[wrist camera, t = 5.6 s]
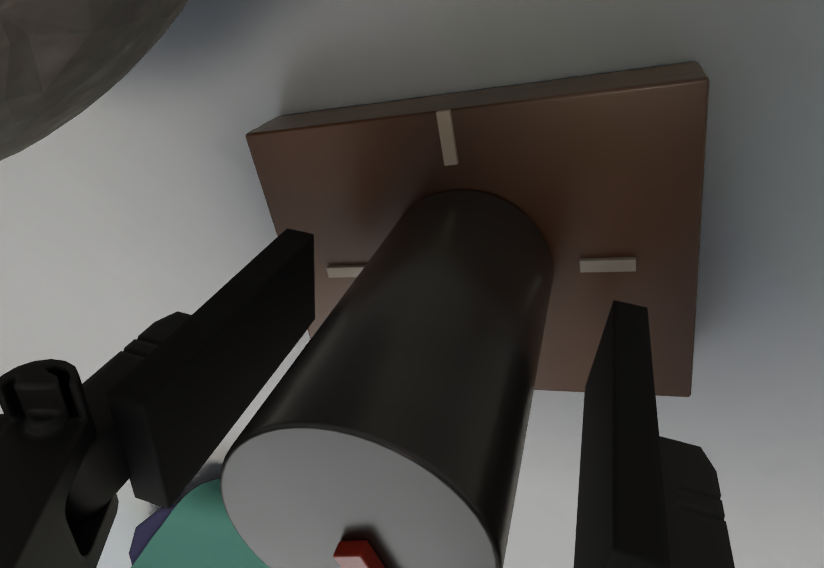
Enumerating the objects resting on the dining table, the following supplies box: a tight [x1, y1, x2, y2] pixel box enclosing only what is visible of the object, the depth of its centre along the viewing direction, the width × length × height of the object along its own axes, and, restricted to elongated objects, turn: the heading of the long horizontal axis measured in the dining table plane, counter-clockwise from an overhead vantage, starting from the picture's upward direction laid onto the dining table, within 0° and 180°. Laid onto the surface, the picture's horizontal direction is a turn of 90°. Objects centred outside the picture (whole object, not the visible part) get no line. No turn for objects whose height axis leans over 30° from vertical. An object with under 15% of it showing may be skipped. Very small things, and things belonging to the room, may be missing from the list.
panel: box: [246, 62, 709, 397], centre depth 17 cm, size 12×9×2 cm
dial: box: [220, 190, 553, 568], centre depth 13 cm, size 5×5×9 cm
